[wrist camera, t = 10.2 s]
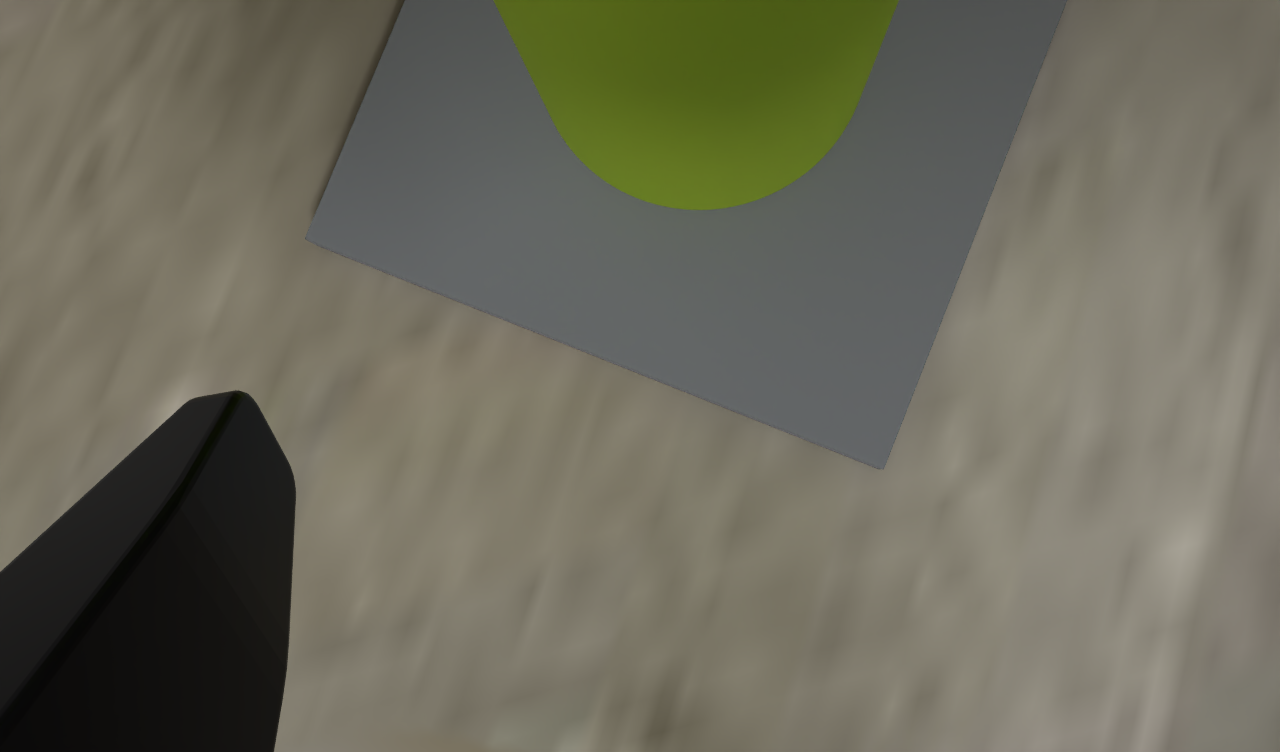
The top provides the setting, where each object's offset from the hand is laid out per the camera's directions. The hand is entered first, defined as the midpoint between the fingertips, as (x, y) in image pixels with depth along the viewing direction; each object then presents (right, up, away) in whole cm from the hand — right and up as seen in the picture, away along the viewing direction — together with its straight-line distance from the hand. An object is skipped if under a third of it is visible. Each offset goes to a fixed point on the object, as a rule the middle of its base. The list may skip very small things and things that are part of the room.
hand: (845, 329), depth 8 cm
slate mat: (0, +5, +12) cm, 13 cm away
